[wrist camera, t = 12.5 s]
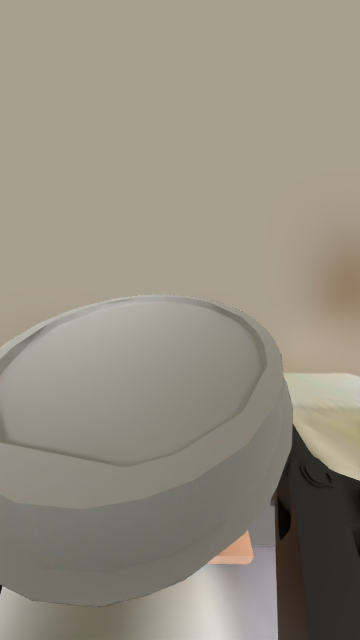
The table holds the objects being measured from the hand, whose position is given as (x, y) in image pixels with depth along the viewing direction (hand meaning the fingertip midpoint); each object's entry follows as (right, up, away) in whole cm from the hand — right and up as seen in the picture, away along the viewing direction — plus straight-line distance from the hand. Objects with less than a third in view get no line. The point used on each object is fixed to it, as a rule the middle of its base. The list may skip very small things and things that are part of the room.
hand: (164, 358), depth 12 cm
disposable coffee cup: (0, -9, -1) cm, 9 cm away
